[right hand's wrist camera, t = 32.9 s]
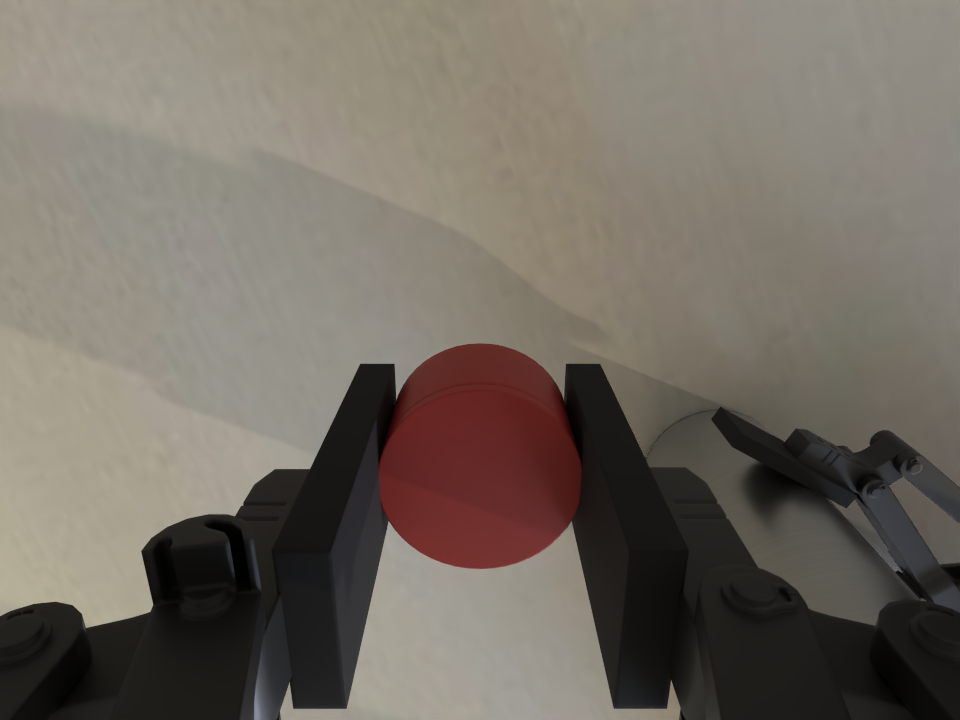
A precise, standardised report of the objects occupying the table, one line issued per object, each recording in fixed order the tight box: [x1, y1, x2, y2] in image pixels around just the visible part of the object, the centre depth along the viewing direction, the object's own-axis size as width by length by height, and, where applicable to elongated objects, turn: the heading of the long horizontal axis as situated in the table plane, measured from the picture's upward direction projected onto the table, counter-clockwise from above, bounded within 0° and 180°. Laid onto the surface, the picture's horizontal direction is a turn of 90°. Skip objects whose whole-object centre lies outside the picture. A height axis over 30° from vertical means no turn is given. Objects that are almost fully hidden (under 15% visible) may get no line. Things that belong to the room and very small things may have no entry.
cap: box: [379, 344, 582, 569], centre depth 13 cm, size 4×4×3 cm
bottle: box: [646, 410, 921, 626], centre depth 27 cm, size 8×8×22 cm
